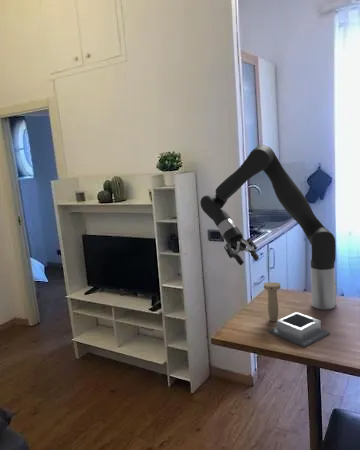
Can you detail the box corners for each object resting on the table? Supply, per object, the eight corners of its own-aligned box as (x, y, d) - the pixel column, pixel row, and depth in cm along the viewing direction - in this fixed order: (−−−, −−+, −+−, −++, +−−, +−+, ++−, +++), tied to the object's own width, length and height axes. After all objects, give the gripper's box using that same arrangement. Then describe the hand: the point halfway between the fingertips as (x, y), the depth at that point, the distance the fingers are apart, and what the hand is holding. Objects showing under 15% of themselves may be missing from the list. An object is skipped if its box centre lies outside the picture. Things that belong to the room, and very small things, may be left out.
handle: (281, 323, 152) (279, 286, 149) (264, 322, 154) (263, 286, 151) (282, 318, 156) (280, 282, 154) (266, 317, 158) (264, 282, 156)
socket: (294, 320, 153) (293, 308, 152) (329, 334, 140) (329, 321, 139) (269, 332, 145) (268, 319, 145) (304, 347, 132) (303, 333, 131)
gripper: (221, 229, 162) (241, 260, 154) (245, 223, 169) (266, 253, 162) (213, 239, 167) (233, 270, 160) (238, 233, 175) (257, 263, 167)
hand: (249, 261), depth 161 cm, fingers open, 8 cm apart
